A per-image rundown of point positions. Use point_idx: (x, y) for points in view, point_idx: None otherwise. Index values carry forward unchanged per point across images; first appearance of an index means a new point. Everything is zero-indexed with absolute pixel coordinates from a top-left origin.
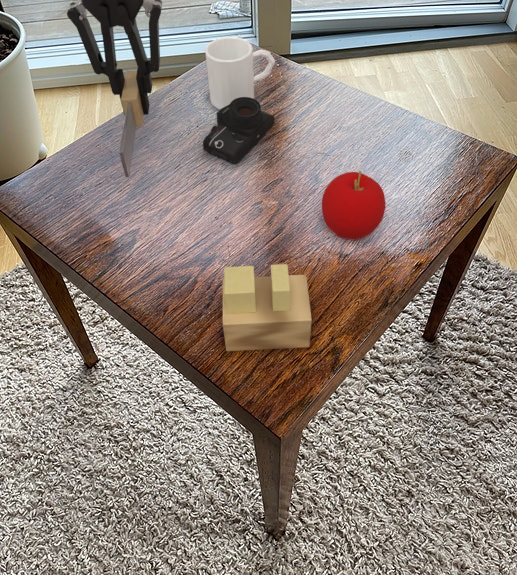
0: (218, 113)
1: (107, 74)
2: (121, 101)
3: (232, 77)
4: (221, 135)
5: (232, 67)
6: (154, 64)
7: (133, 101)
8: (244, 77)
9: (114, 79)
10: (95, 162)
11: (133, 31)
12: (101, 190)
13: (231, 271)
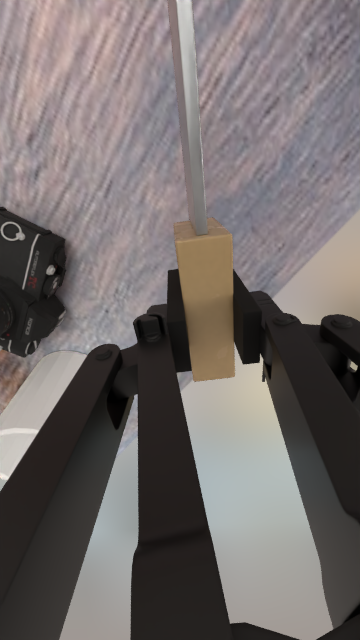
0: (41, 317)
1: (296, 318)
2: (230, 233)
3: (24, 399)
4: (19, 261)
5: (10, 418)
6: (98, 365)
7: (187, 237)
8: (9, 403)
9: (265, 316)
10: (283, 193)
11: (133, 576)
12: (263, 81)
13: None
